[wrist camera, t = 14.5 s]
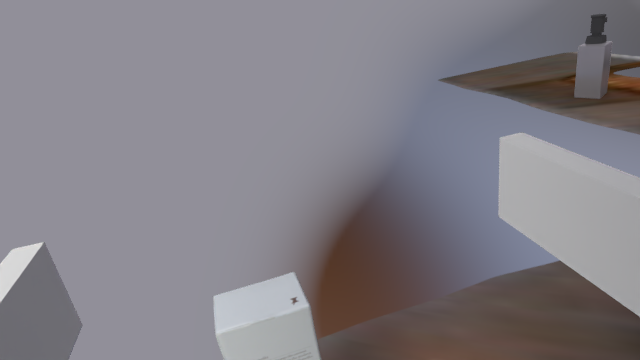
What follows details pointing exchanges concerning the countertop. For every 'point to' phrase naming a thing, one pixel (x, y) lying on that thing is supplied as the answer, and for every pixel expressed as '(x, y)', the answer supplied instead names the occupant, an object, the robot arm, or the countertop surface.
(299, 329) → the skincare box
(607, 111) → the countertop surface
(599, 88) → the soap dispenser
